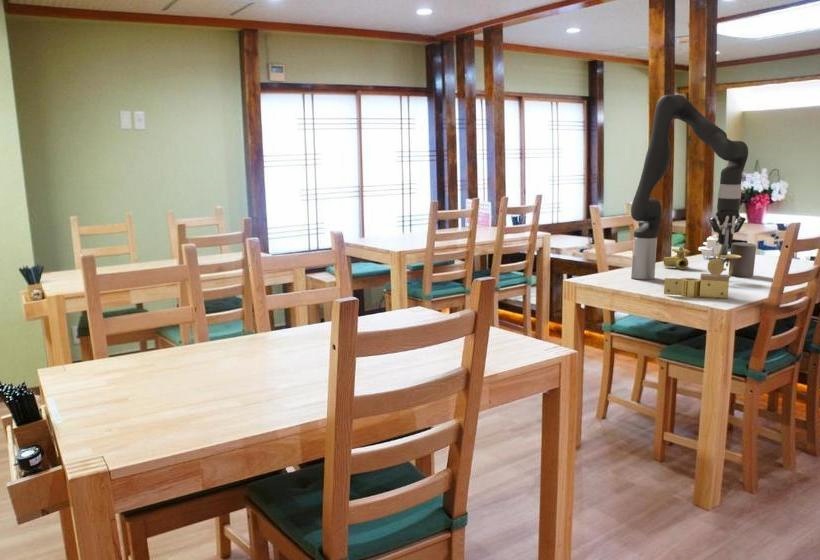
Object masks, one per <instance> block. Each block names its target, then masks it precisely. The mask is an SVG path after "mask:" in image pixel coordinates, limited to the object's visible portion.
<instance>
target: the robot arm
mask: <svg viewBox="0 0 820 560" xmlns="http://www.w3.org/2000/svg"><path fill="white" fill-rule="evenodd" d="M653 116H654V117H653V122H652V123H653V124H652V129H651V135H650V139H649V143H648V148H647V151H646V154H645V159H644V164H643V167H642V173H641V175H640V178H639V179H640V180H639V183H638V186H637V190H636V191H635V195H634V197H633V200H632V203H631V207H630V215H631V218H632V220H634V221H636V222H643V223H642V225H640V227H638V228H636V229H635V230H634V231H633V243H632V244H633V245H632V257H631V258H632V259H631V262H632V263H631V274H630V275H631V276H630V277H631V279H636V280H647V281H648V280H654V279H655V276H656V275H655V274H656V261H657V260H656V258H657V245H658V234H659V232H660V227H661V219H662V218H661V217H662V204H661V201H659V199H657V198H653V197H652V198H651V194H652V192H653V190H654V188H655V187H656V186H657V184H658V183H659V182H660V181H661V179H662V178H663V177H664V176H665V174H666V173H667V172H668V168H669V165H670V163H671V158H672V147H671V143H670V137H669V132H670V127H671V123H672V120H680V121H682V122H684V123H685V124H687V125H688V126H689V127H690V128H691V129H692V131H693V133H694V134H695V136H696V137H697V138H699V140H700V141H702V142H703V143H705V144H706V145H707V146H708V147H710V148H711V150H712V151H713V152H714V153H715V154H716V155H717V157H718V158H719V159H722V160H723V161H725V162H727V165H726V167H724V168H722V169H721V172H720V177H719V178H720V180H719V187H718V191H717V205H716V213H715V215H713V217H709V218H708V220H709V223H710V226H711V228H712V230H713V232H714V233H717V234H718V237H717V238H718V241H717V243H718V242H719V244H722V245H723V244H724V240H725V235H724V234H725V229H726V228H727V223H732V226H730V232H729V243H728V245H731V244H732V243H733V239H734V234H737V233H739V232H740V230H741V229H742V227H743V225H744V224H745V221H746V220H747V219H746V217H743V216H741V214H740V211H739V210H740V209H741V198H742V179H743V171H744V169H745V166H746V164H747V161H748V157H749V148H748V145H747V143H745V142H744V141H741V140H732V139H729V138H728V135H727V133H726V132H725V130H723V129H722V128H720V126H717V125H716V124H715V123H714V122H712V121H711V120H709V119H708V118H707V117H705V116H704V115H703V114H702V113H701V112H700V111H699V110H698V109H697V108H696V107H695V106H694V105H693V104H692V103H691V102H690V101H689V100H688V98H686V97H685V96H684V95H681V94H664V95H662V96H661V97H660V98H659V99H657V103H656V104H655V110H654V115H653ZM721 224H723V225H721Z"/></svg>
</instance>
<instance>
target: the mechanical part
mask: <svg viewBox="0 0 820 560" xmlns="http://www.w3.org/2000/svg"><path fill="white" fill-rule="evenodd" d="M702 245H705V246H699V247H698V251H700V252H701V255H702V256H703V257H702V259H705V257H706V259H709V260H710V257H713V258H712V259H717V256H716V254H719V251H720V248H721V246H722V244H719V242H718V237H717V234H713V235H711V236H708V237H707V238H706V241H704V242H703V243H702Z"/></svg>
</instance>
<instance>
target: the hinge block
mask: <svg viewBox="0 0 820 560" xmlns="http://www.w3.org/2000/svg"><path fill="white" fill-rule="evenodd" d="M699 278H700V279H699ZM699 278H693V277H681V278H671V277H670V278H669V277H668V278H667V277H665V278H664V286H663V288H664V289H663V295H668V296H669V295H672V296H680V295H681V296H680V297H683V296H684V297H683V298H693V299H694V298H702V299H705V298H706V299H721V300H722V299H723V300H728V296H729V284H730V278H729V276H728V274H722V273H721V274H711V273H700V277H699Z"/></svg>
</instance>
